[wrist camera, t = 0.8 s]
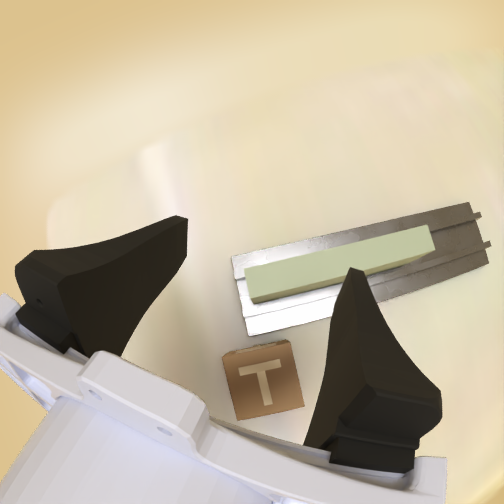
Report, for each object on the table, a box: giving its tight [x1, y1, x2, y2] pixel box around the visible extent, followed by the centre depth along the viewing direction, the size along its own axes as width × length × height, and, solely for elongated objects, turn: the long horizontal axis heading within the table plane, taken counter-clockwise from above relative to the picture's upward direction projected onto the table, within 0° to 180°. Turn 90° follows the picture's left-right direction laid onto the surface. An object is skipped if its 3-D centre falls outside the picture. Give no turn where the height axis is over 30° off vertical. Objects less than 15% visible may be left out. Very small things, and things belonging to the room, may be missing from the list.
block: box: [222, 339, 305, 421], centre depth 23 cm, size 5×5×5 cm
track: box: [231, 202, 491, 336], centre depth 26 cm, size 26×7×2 cm, turn 103°
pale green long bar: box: [244, 225, 435, 305], centre depth 23 cm, size 14×2×6 cm, turn 103°
